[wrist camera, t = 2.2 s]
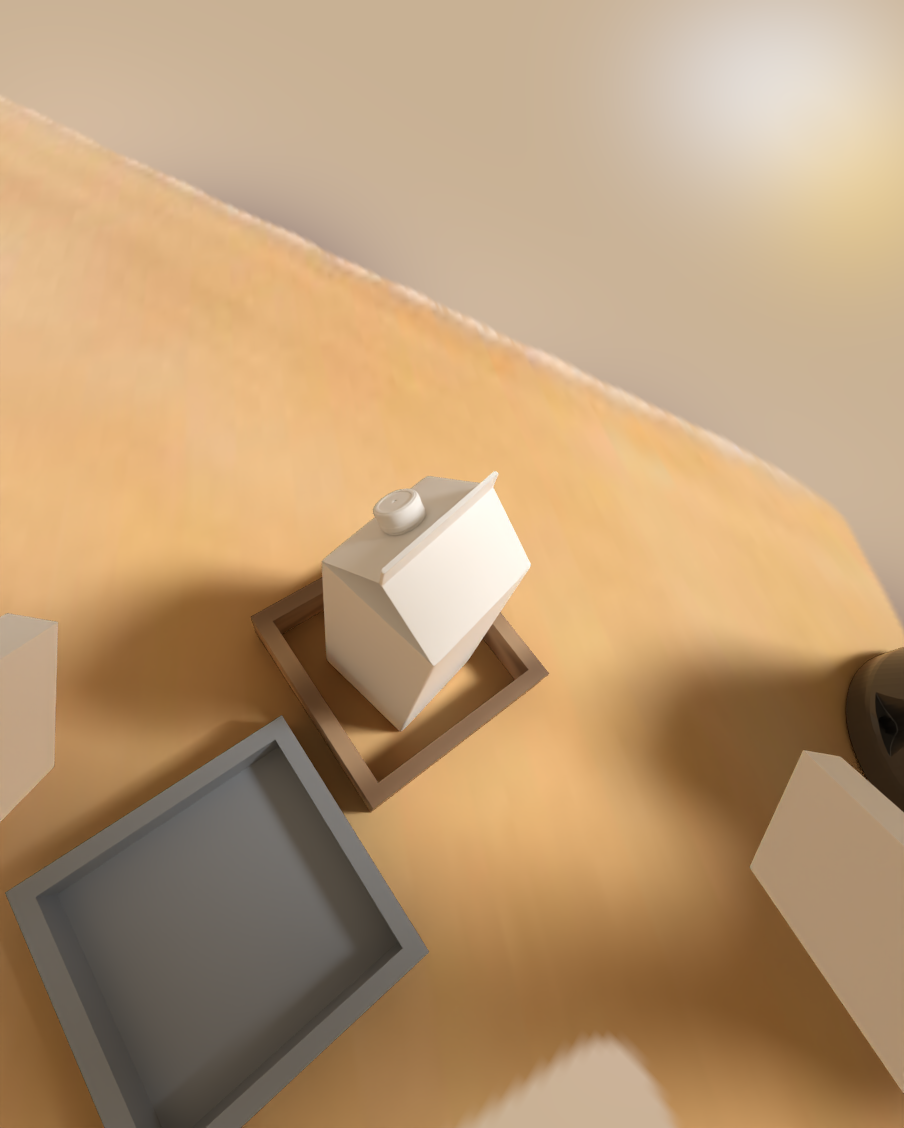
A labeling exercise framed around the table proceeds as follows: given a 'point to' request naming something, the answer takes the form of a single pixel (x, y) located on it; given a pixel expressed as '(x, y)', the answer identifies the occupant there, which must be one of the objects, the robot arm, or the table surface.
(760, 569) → the table surface
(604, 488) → the table surface
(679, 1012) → the table surface
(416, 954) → the tray
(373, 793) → the holder frame
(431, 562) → the milk carton
